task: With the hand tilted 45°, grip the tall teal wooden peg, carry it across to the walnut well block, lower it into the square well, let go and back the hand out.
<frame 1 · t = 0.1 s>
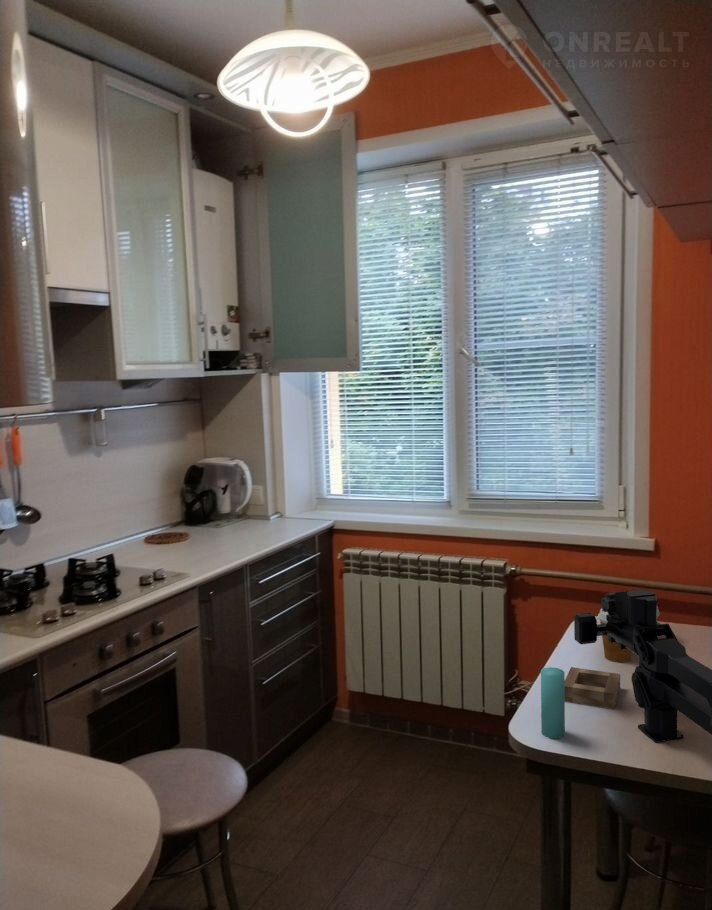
hand: (596, 613, 170), 17 cm above the table, tool horizontal, fingers open, 9 cm apart
peg: (553, 733, 149), on the table
disposable coffee cup: (617, 658, 185), on the table
well block: (591, 694, 165), on the table
food container: (646, 641, 195), on the table
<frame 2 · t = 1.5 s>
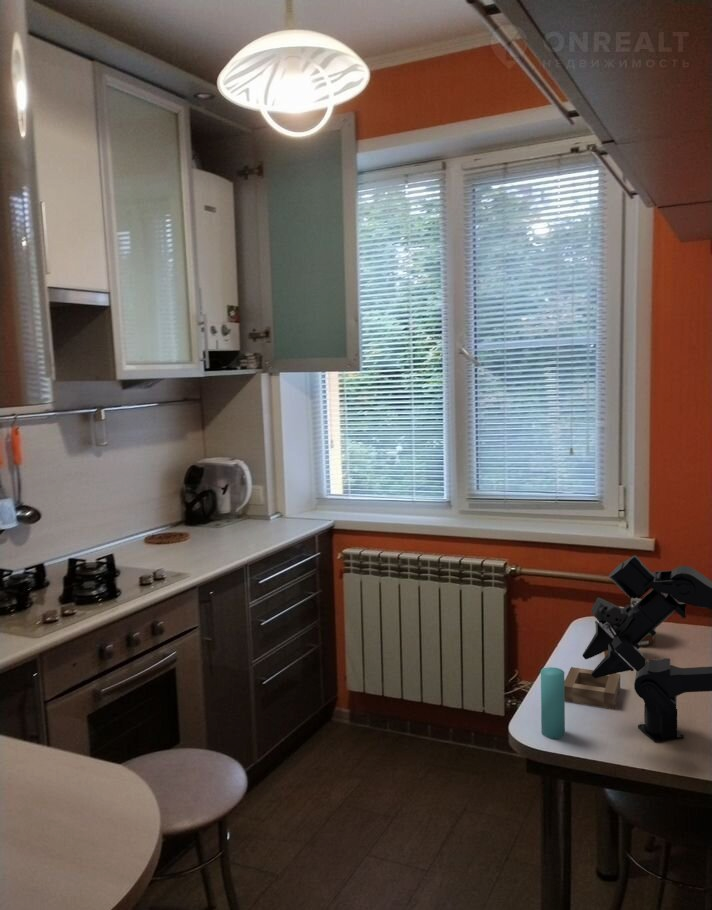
hand: (588, 666, 147), 14 cm above the table, tool tilted 45°, fingers open, 9 cm apart
nothing on the table moved.
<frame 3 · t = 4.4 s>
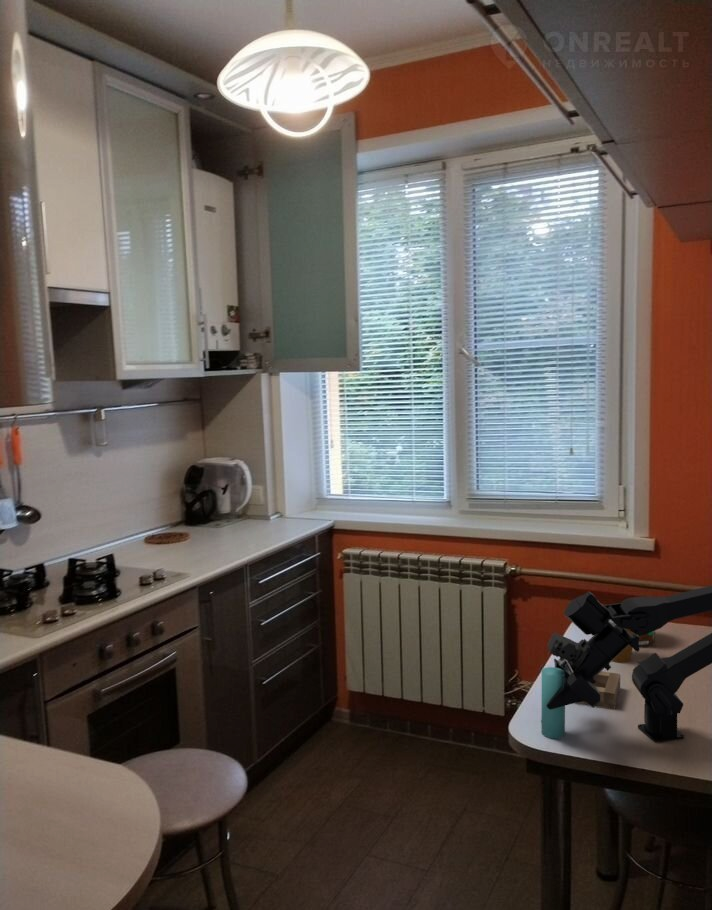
hand: (545, 702, 148), 7 cm above the table, tool tilted 45°, fingers closed on peg, 5 cm apart
peg: (553, 732, 149), on the table, touching gripper
everything else where it was.
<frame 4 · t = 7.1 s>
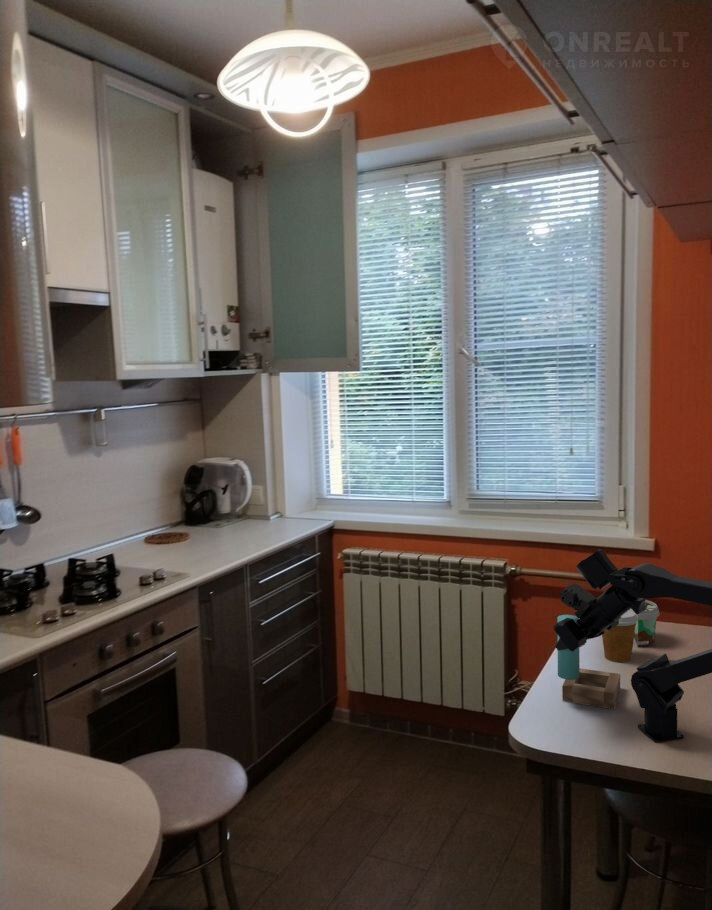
hand: (562, 645, 161), 13 cm above the table, tool tilted 45°, fingers closed on peg, 5 cm apart
peg: (568, 675, 161), point 6 cm above the table, touching gripper
everything else where it was.
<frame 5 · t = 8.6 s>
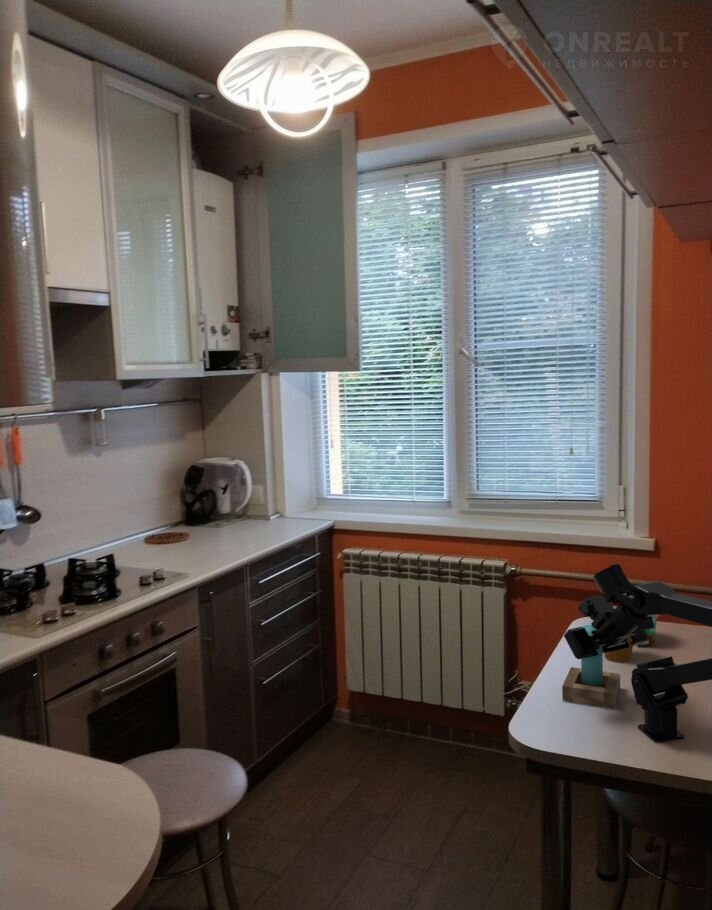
hand: (587, 653, 165), 9 cm above the table, tool tilted 45°, fingers closed on peg, 5 cm apart
peg: (592, 683, 165), point 3 cm above the table, touching gripper
everything else where it was.
when the fingers open (8 cm above the table, at t = 9.7 s): peg drops 1 cm, resting in well block.
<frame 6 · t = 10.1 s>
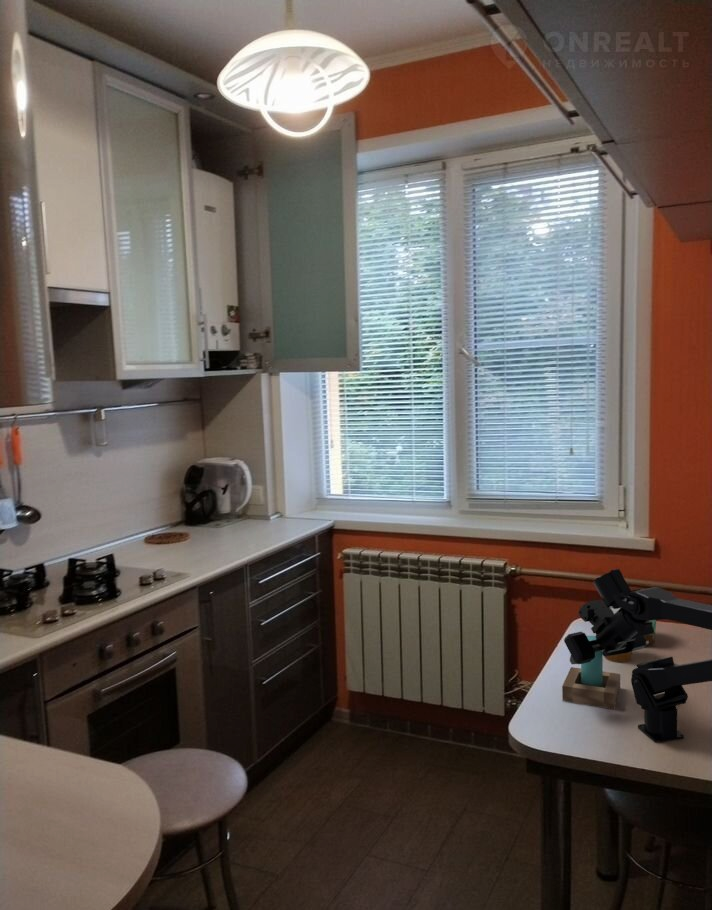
hand: (587, 658, 165), 8 cm above the table, tool tilted 45°, fingers open, 9 cm apart
peg: (591, 694, 165), resting in well block
everything else where it was.
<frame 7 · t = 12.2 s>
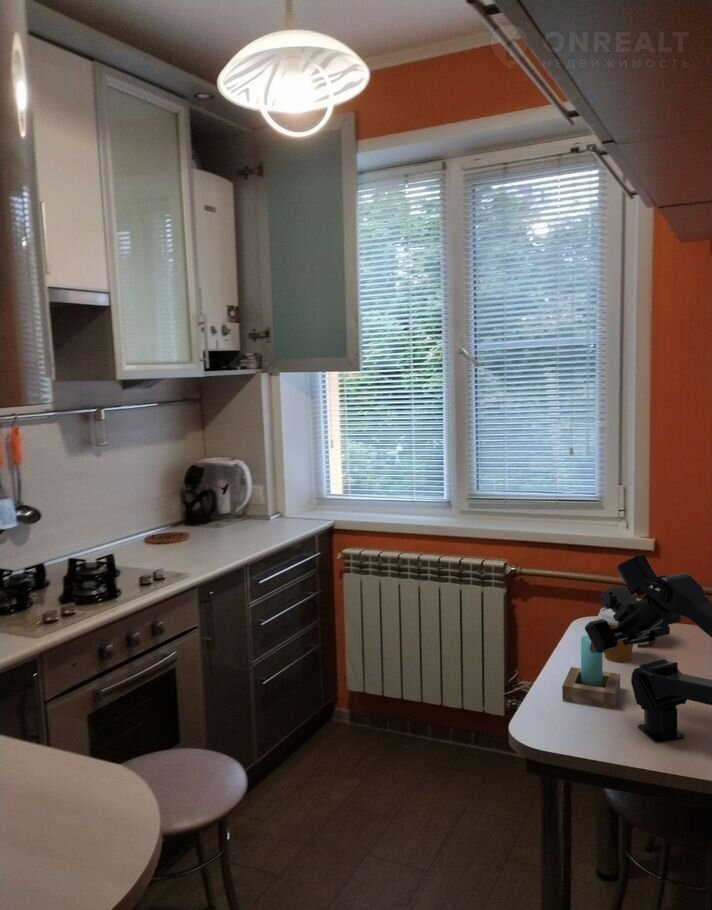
hand: (607, 646, 159), 13 cm above the table, tool tilted 45°, fingers open, 9 cm apart
nothing on the table moved.
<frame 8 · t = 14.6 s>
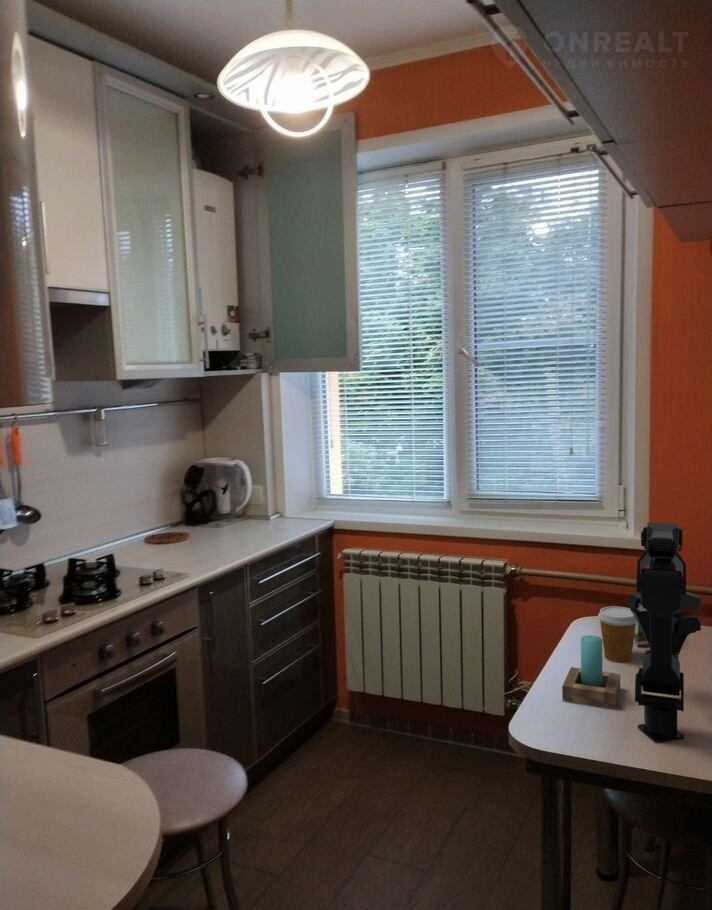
hand: (661, 649, 159), 12 cm above the table, tool pointing down, fingers open, 9 cm apart
nothing on the table moved.
at the end: peg 0.0 cm off-centre on the well block, point 0.0 cm above the well block's base; peg tilted 0°; the gripper is holding nothing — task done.
